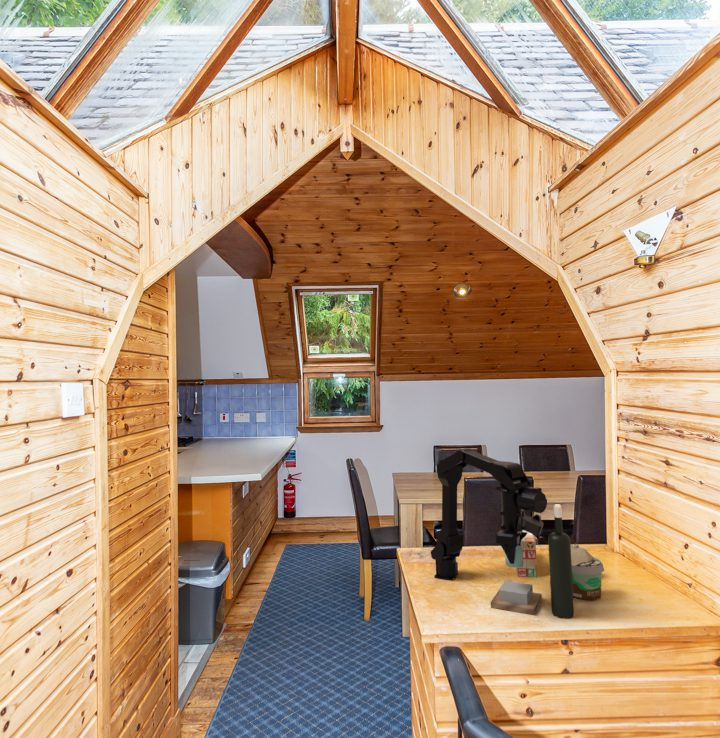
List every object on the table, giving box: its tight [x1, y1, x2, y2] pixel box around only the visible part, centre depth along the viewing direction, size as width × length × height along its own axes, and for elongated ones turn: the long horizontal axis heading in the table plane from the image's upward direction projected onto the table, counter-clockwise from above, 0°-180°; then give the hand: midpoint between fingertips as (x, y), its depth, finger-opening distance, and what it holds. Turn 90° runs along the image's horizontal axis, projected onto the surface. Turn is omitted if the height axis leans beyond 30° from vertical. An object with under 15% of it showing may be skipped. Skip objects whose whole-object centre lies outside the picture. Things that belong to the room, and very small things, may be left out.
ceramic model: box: [571, 543, 595, 566], centre depth 175 cm, size 14×11×10 cm
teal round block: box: [504, 545, 523, 568], centre depth 154 cm, size 5×5×5 cm
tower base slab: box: [490, 591, 543, 616], centre depth 153 cm, size 12×12×2 cm
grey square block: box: [497, 580, 534, 605], centre depth 154 cm, size 8×8×3 cm
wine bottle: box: [547, 503, 575, 619], centre depth 146 cm, size 6×6×30 cm
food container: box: [572, 556, 605, 602], centre depth 156 cm, size 12×6×10 cm, turn 117°
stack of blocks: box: [515, 529, 538, 579], centre depth 184 cm, size 21×6×12 cm, turn 169°
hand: (514, 560), depth 154 cm, fingers closed on teal round block, 5 cm apart
